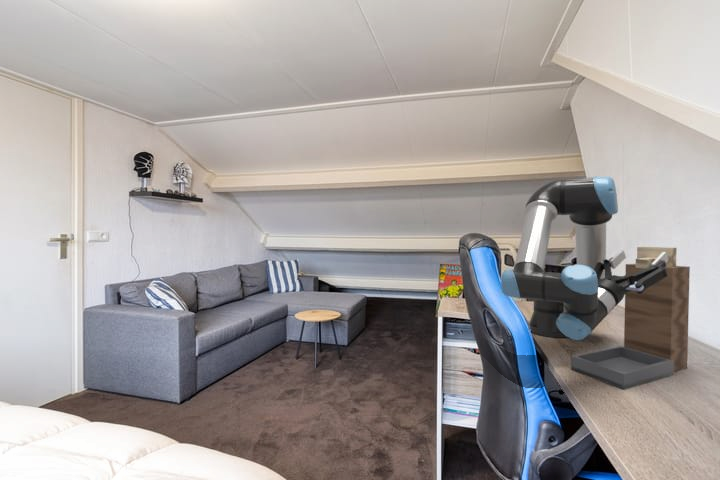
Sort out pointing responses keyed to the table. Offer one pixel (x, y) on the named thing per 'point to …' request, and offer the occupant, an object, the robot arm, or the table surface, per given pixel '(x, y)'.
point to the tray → (622, 366)
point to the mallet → (654, 256)
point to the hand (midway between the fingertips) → (643, 254)
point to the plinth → (659, 316)
